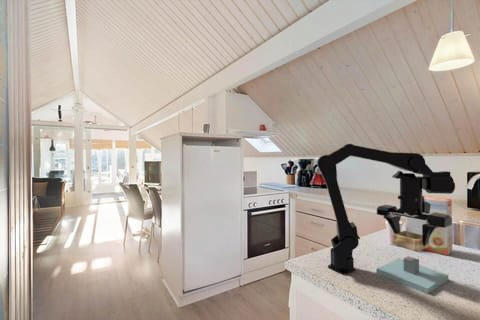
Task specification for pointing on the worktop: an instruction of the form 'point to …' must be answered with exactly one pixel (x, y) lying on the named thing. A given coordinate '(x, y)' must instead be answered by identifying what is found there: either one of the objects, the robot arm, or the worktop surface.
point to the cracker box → (440, 236)
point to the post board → (413, 274)
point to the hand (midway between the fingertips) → (410, 241)
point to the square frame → (409, 240)
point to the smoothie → (391, 232)
